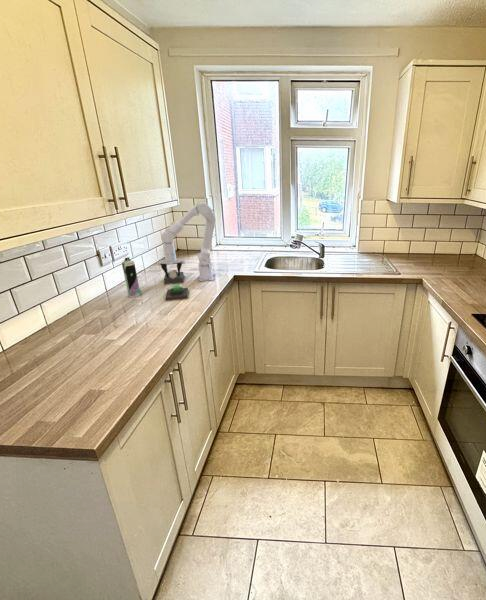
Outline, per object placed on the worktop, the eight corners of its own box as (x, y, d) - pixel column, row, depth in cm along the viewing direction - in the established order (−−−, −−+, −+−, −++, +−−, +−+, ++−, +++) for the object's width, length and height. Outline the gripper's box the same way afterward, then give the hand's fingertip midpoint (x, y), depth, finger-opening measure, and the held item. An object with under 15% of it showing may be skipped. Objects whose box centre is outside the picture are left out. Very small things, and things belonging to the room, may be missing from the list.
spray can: (135, 297, 159) (127, 259, 151) (126, 296, 160) (118, 258, 152) (142, 293, 164) (135, 256, 156) (133, 292, 165) (126, 255, 157)
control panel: (166, 277, 189) (165, 272, 187) (184, 276, 191) (183, 271, 190) (164, 285, 177) (163, 279, 176) (183, 283, 180) (182, 278, 178)
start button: (173, 289, 163) (172, 285, 162) (180, 288, 164) (180, 285, 163) (172, 291, 159) (172, 288, 159) (180, 290, 160) (179, 287, 160)
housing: (168, 292, 167) (167, 286, 165) (188, 290, 169) (187, 284, 168) (166, 300, 156) (164, 294, 155) (187, 298, 159) (186, 292, 157)
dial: (169, 278, 178) (168, 271, 177) (169, 275, 182) (168, 269, 181) (177, 277, 180) (176, 271, 178) (177, 275, 183) (176, 269, 182)
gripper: (154, 255, 170) (158, 279, 175) (183, 254, 174) (186, 277, 179) (156, 252, 176) (160, 275, 182) (183, 251, 180) (186, 273, 185)
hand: (173, 276), depth 181 cm, fingers open, 5 cm apart
